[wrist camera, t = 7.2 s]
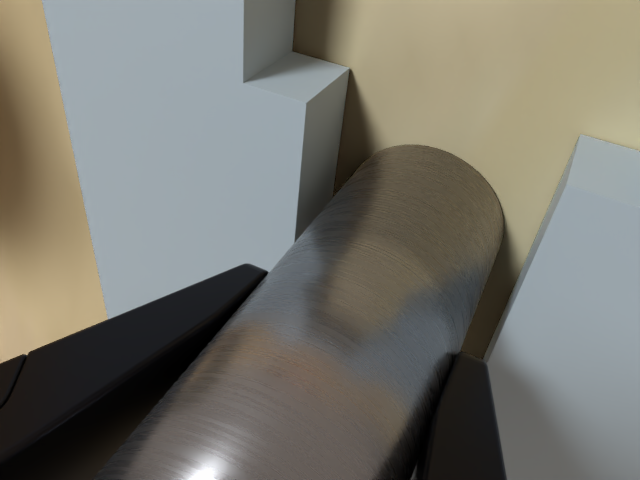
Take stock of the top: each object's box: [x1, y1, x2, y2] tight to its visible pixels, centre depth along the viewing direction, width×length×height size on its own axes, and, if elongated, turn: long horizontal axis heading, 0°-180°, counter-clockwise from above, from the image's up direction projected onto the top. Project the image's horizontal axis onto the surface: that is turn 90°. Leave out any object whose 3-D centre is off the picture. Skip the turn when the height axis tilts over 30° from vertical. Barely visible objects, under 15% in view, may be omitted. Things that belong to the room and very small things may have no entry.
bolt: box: [92, 145, 504, 480], centre depth 7 cm, size 4×4×10 cm
